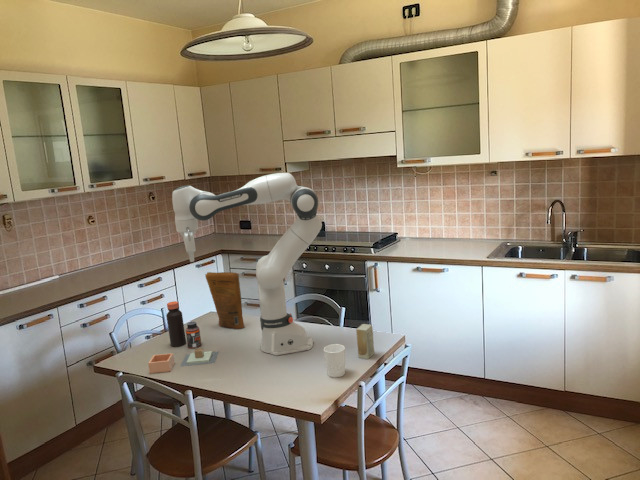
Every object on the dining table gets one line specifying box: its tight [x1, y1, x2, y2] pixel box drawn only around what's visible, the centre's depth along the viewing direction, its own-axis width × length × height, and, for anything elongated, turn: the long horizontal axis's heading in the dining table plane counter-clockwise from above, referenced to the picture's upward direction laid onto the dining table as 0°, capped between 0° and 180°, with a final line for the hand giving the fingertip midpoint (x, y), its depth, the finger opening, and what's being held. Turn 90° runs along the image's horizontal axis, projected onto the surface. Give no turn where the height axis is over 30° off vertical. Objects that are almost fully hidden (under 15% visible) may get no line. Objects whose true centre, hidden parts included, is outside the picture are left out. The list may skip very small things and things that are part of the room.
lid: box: [187, 348, 213, 364], centre depth 217 cm, size 9×9×4 cm
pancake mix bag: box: [204, 271, 246, 330], centre depth 252 cm, size 7×19×28 cm, turn 59°
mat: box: [179, 350, 220, 368], centre depth 218 cm, size 14×12×1 cm
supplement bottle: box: [185, 321, 202, 349], centre depth 231 cm, size 6×6×11 cm
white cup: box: [323, 343, 346, 378], centre depth 194 cm, size 8×8×10 cm
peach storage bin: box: [147, 352, 176, 375], centre depth 211 cm, size 8×8×5 cm
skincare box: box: [355, 323, 375, 360], centre depth 207 cm, size 6×4×12 cm
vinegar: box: [165, 300, 187, 348], centre depth 234 cm, size 7×7×20 cm
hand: (191, 259), depth 215 cm, fingers open, 8 cm apart
